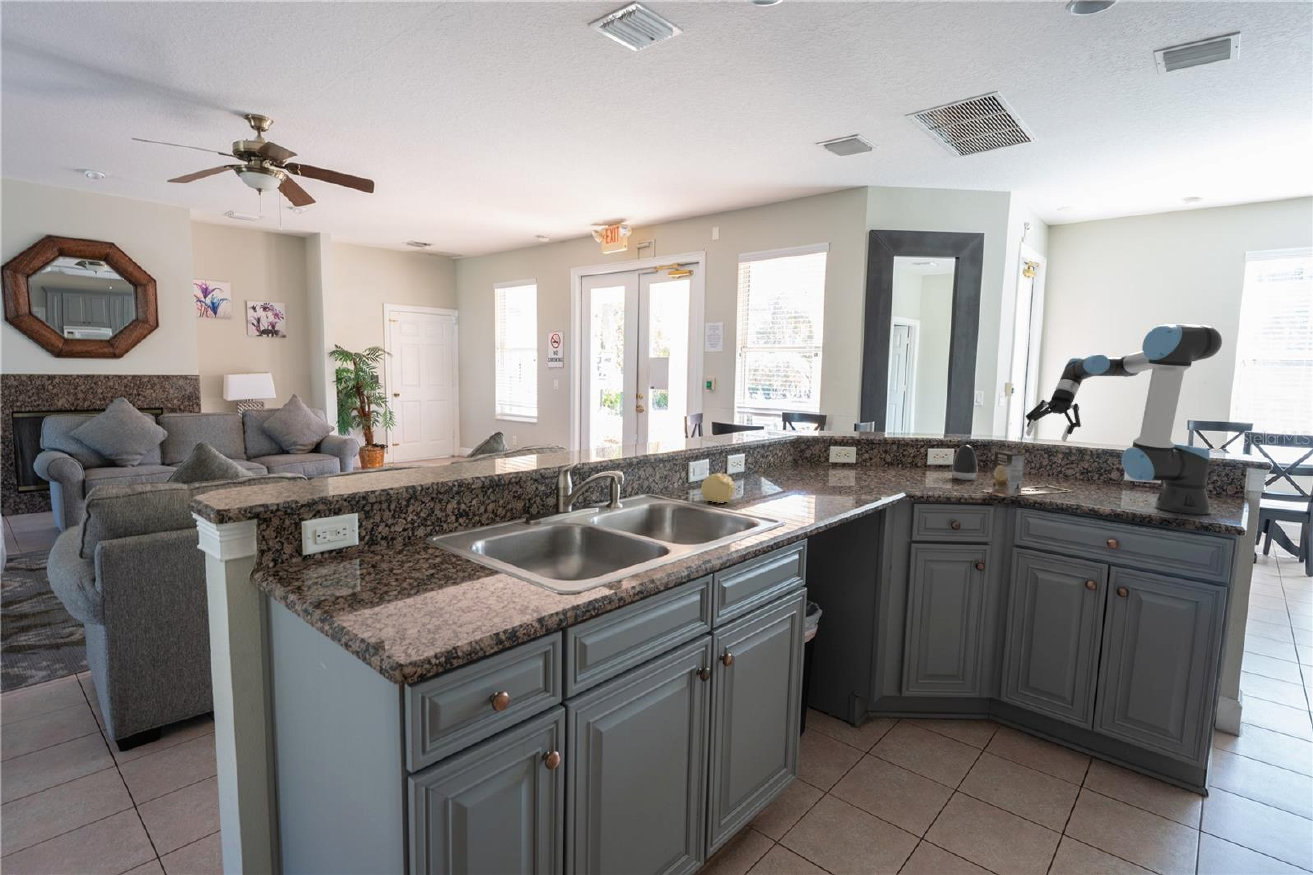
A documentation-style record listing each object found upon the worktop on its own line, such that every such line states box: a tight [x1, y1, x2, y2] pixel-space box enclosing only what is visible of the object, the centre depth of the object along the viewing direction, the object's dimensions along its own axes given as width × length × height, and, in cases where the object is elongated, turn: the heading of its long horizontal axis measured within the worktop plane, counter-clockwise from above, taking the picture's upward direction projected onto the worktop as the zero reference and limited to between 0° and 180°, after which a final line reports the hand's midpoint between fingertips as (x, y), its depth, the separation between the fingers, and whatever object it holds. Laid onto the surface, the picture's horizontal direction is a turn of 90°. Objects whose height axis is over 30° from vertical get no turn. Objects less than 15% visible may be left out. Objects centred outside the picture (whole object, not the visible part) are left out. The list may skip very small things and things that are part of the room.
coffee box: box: [991, 450, 1025, 495], centre depth 257 cm, size 9×6×16 cm
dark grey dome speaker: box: [951, 444, 979, 481], centre depth 287 cm, size 10×10×15 cm
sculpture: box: [700, 472, 736, 503], centre depth 236 cm, size 12×12×11 cm
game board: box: [981, 485, 1074, 498], centre depth 261 cm, size 12×35×1 cm, turn 109°
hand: (1045, 437), depth 263 cm, fingers open, 13 cm apart
